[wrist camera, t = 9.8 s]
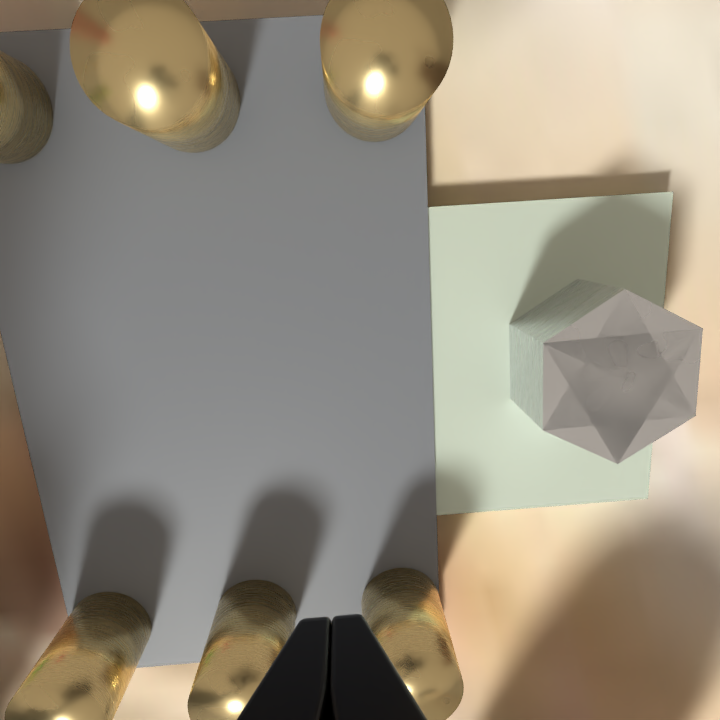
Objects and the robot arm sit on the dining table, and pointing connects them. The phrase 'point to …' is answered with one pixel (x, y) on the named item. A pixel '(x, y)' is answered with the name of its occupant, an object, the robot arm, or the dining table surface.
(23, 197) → the board
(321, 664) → the robot arm
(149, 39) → the spacers
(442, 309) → the mat
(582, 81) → the dining table surface
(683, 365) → the white faceted block
